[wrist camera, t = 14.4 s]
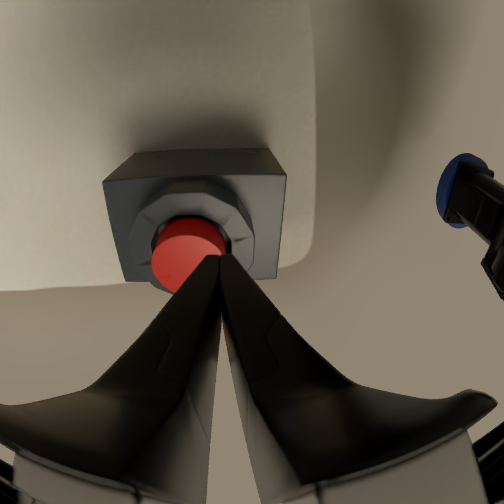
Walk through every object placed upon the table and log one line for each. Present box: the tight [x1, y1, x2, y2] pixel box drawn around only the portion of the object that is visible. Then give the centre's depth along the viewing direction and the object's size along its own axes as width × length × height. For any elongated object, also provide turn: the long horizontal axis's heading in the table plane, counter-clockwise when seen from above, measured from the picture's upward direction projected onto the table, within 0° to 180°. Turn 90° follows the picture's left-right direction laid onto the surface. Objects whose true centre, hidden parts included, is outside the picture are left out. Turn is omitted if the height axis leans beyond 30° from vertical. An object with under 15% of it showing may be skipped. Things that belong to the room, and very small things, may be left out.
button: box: [151, 217, 226, 292], centre depth 13 cm, size 4×4×2 cm
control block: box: [102, 148, 287, 295], centre depth 17 cm, size 10×7×8 cm
